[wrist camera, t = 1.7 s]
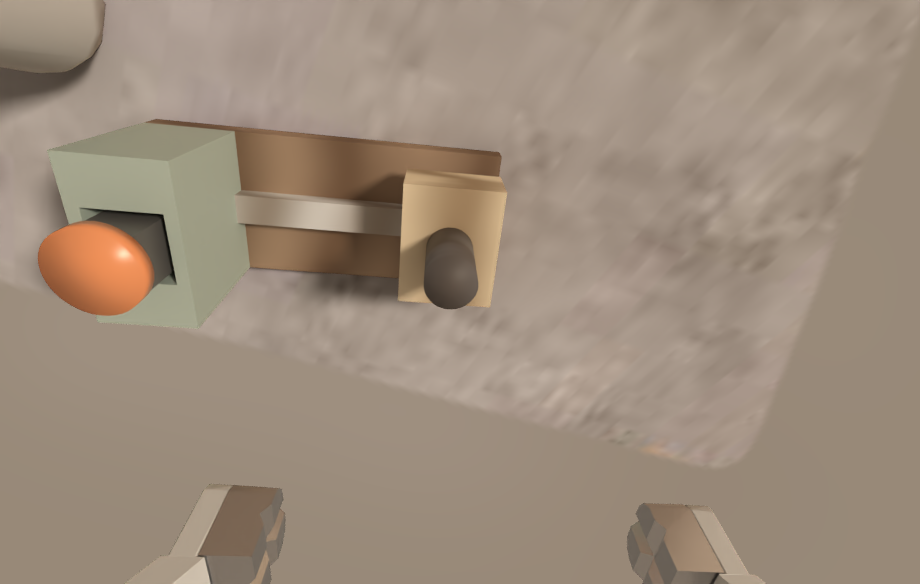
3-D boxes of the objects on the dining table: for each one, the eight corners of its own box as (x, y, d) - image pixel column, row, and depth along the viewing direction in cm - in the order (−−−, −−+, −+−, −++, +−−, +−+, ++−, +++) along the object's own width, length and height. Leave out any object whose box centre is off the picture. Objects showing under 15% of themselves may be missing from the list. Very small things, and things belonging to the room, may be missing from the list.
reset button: (124, 263, 24) (54, 312, 19) (105, 187, 22) (23, 223, 18) (203, 269, 24) (152, 318, 20) (191, 195, 22) (132, 232, 18)
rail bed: (181, 253, 30) (163, 268, 28) (156, 119, 26) (133, 125, 24) (482, 276, 31) (485, 292, 29) (499, 152, 28) (503, 161, 26)
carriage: (402, 276, 28) (391, 342, 22) (407, 168, 25) (396, 210, 19) (485, 282, 29) (497, 349, 23) (500, 177, 26) (518, 220, 20)
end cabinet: (171, 261, 29) (97, 322, 23) (144, 122, 25) (47, 150, 19) (249, 267, 29) (198, 328, 23) (234, 131, 25) (167, 161, 19)
